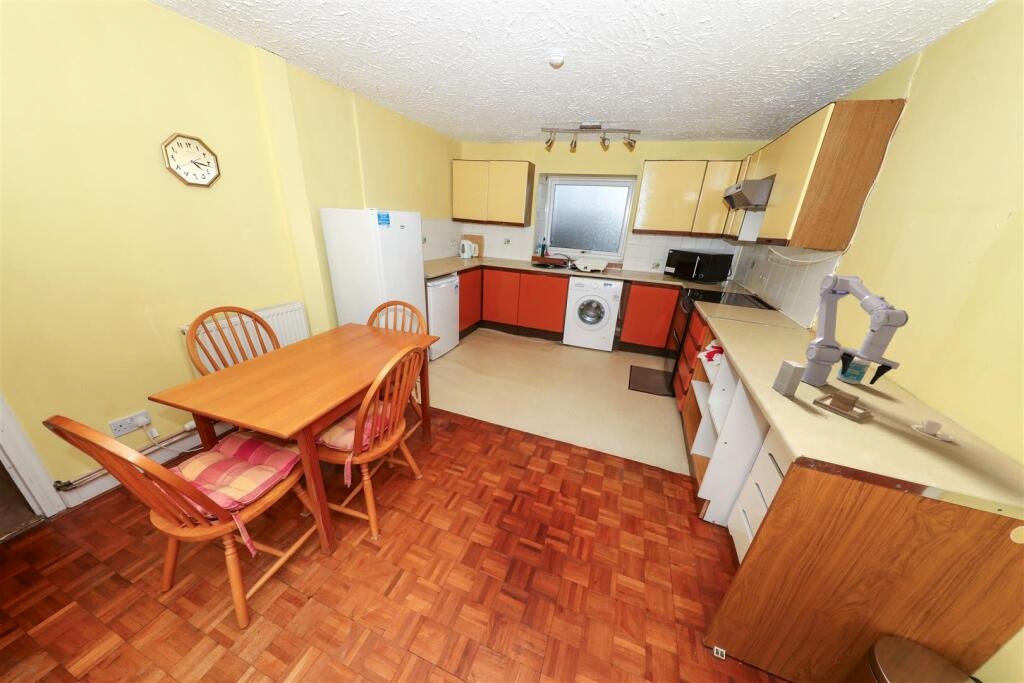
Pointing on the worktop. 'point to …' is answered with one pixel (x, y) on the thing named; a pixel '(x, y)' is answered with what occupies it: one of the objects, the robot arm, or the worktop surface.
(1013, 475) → the worktop surface
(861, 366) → the pill bottle
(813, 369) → the robot arm
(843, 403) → the cube
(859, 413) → the tray
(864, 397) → the worktop surface
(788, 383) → the skincare box
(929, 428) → the teacup and saucer
